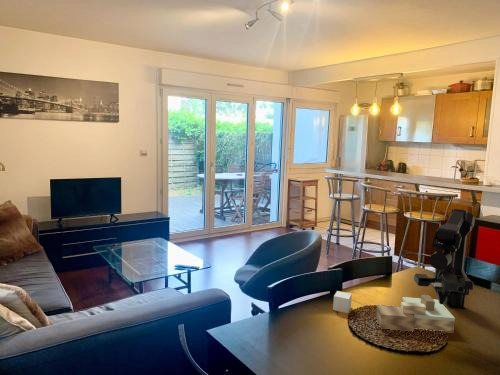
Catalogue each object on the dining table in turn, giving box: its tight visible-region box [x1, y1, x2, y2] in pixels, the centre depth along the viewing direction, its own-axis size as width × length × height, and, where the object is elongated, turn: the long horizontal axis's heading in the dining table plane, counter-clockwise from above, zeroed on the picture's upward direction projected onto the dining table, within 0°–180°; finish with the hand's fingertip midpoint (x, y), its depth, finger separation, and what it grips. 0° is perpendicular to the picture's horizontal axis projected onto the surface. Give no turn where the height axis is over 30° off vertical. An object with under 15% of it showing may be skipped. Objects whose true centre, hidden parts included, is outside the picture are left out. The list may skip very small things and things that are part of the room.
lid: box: [401, 294, 456, 322], centre depth 144 cm, size 14×16×6 cm
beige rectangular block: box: [400, 301, 426, 315], centre depth 139 cm, size 8×3×3 cm, turn 83°
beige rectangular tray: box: [375, 300, 456, 334], centre depth 144 cm, size 26×18×6 cm
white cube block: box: [332, 290, 352, 314], centre depth 153 cm, size 6×6×6 cm
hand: (440, 303), depth 138 cm, fingers closed
